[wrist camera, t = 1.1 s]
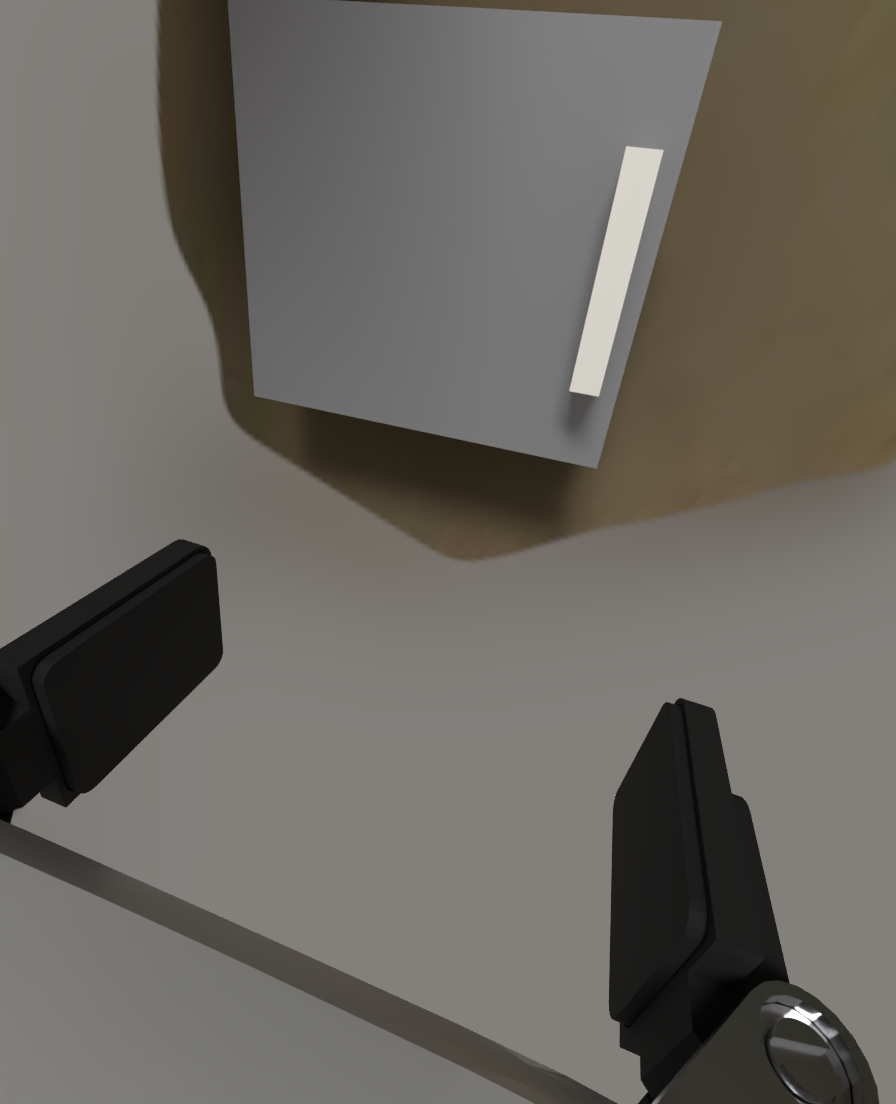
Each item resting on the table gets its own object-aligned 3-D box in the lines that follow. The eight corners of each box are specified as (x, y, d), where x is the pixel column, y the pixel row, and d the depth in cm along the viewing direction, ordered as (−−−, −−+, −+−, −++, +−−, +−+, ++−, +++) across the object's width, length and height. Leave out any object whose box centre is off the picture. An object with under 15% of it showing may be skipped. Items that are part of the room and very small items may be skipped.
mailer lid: (251, 10, 22) (182, -36, 18) (715, 38, 19) (736, -13, 15) (271, 389, 30) (224, 406, 26) (598, 458, 26) (594, 487, 23)
